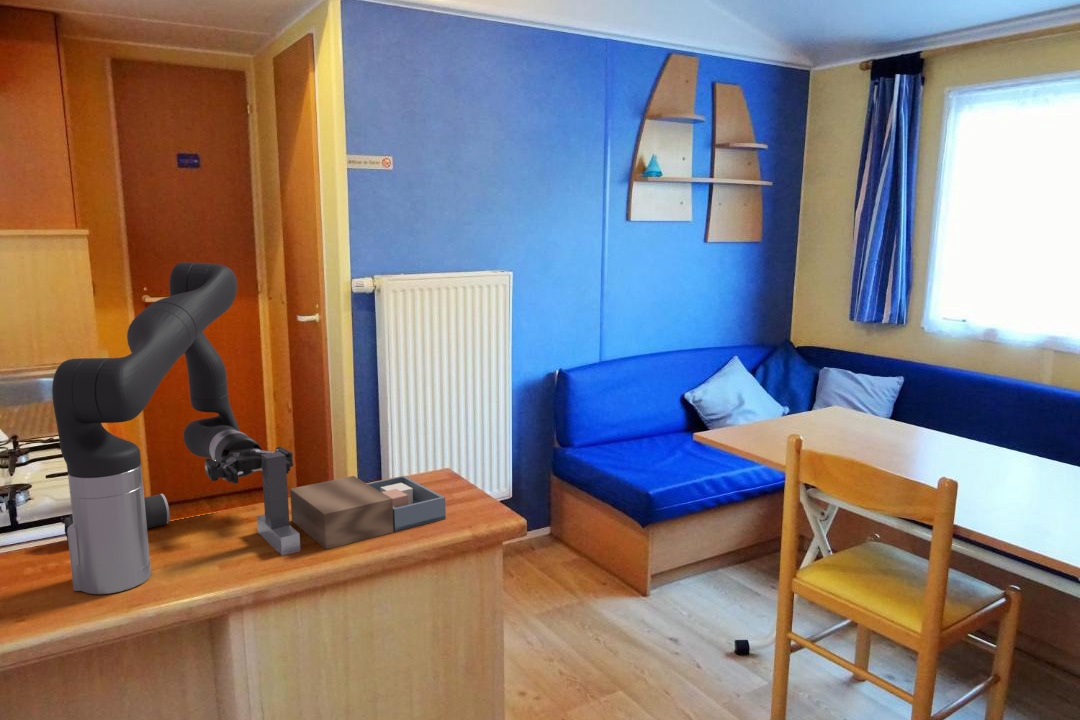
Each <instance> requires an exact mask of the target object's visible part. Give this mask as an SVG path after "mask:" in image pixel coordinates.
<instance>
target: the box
mask: <svg viewBox="0 0 1080 720" xmlns="http://www.w3.org/2000/svg"><path fill="white" fill-rule="evenodd" d="M398 483H403V484H405V485H407V486H409V487H411V488H413V504H410V505H406V506H402V507H397V508H395V507H394V506H393V531H394V532H399V531H403V530H404V531H405V530H407V529H412V528H415V527H419V526H422V525H427V524H430V523H434V522H438V521H439V522H440V521H442V520H445V519H447V517H446V516H447V515H446V497H445V496H443V495H441V494H439V493H438V492H436V491H433V490H431V488H428V487H426V486H424V485H422V484H421V483H418V482H417V481H415V480H413V479H411V478H409V477H407V476H405V475H401V476H395V477H391V478H386V479H381V480H377V481H373V482H372V481H371V482H367V484H368V485H370V486H372V487H373V488H375V489H377V490H378V491H380V492H381V487H384V486H389V485H393V484H398Z"/></svg>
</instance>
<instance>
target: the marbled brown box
mask: <svg viewBox="0 0 1080 720" xmlns="http://www.w3.org/2000/svg"><path fill="white" fill-rule="evenodd" d="M367 483H368V482H367ZM367 483H366V482H365V481H363V480H361V479H360V478H358V477H356V476H354V475H352V476H351V475H350V476H346V477H342V478H341V477H340V478H336V479H332V480H326V481H322V482H318V483H312V484H307V485H302V486H297V487H293V488H290V489H289V494H290V497H289V498H290V510H291V512H290V513H291V514H290V515H291V522H292V523H293V524H295V525H296V526H297V527H298V528H300V529H301V530H302V531H303V532H304V533H305V534H307V535H308V536H309V537H310V538H312V539H313V540H314V541H316V543H317V544H319V545H320V546H321V547H323V548H324V549H325V550H329V549H333V548H338V547H342V546H346V545H349V544H353V543H357V542H362V541H365V540H369V539H373V538H378V537H380V536H384V535H388V534H392V533H394V532H395V531H393V503H392V498H390V497H389V496H387V495H385V494H383V493H382V492H380V491H378V490H377V489H375V488H373V487H372V486H370V485H368V484H367Z"/></svg>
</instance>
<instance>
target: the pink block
mask: <svg viewBox="0 0 1080 720" xmlns="http://www.w3.org/2000/svg"><path fill="white" fill-rule="evenodd" d="M382 493H383V494H385V495H387V496H389V497H390V498H392V503H393V506H394V507H395V508H397V507H402V506H406V505H408V495H407V494H405V493H403V492H401V491H399V490H398V489H393V490H389V491H384V492H382Z"/></svg>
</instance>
